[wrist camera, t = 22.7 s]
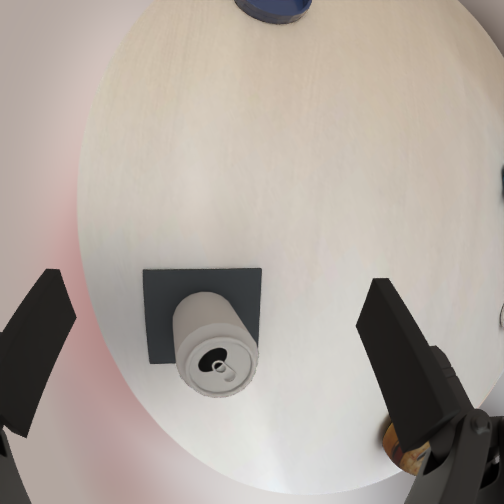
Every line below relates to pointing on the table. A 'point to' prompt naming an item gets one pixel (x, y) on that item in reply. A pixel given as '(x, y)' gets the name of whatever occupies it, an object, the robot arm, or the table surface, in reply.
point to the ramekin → (502, 317)
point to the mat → (190, 282)
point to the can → (213, 346)
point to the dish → (275, 9)
